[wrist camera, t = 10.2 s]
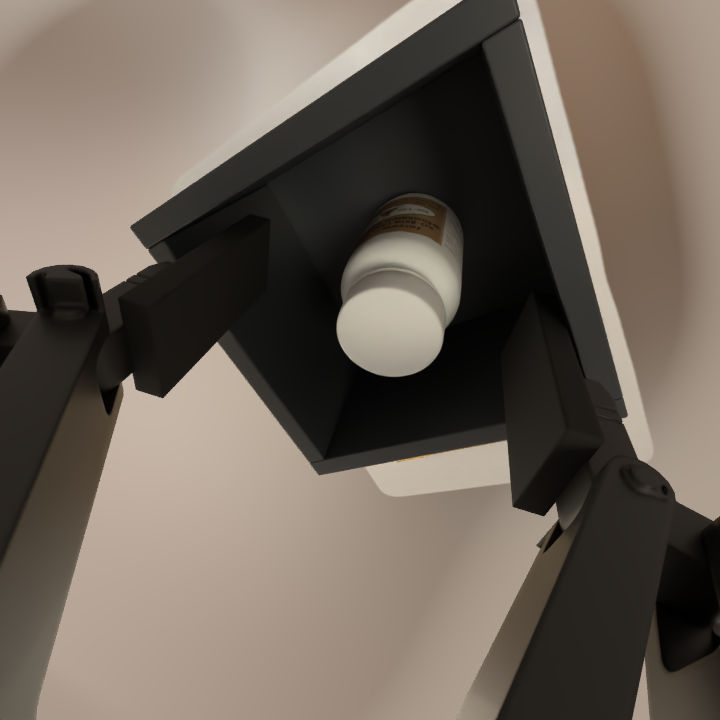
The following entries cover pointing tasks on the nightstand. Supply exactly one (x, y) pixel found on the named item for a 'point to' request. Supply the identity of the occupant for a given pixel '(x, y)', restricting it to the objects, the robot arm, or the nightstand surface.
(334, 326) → the legged open box
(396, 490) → the nightstand surface
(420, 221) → the pill bottle
